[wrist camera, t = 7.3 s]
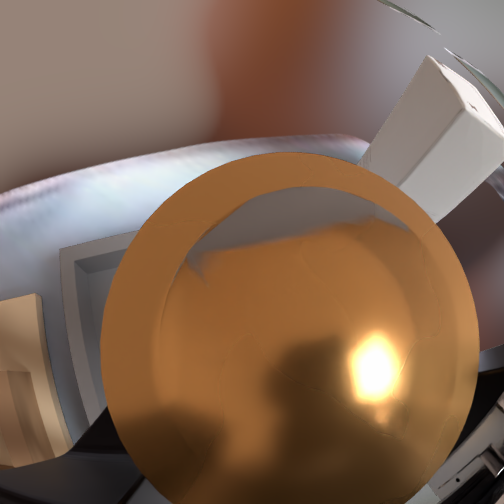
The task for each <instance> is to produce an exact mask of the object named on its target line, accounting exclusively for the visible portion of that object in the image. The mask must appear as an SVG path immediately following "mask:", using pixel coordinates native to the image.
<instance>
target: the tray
mask: <svg viewBox="0 0 504 504" xmlns="http://www.w3.org/2000/svg"><path fill="white" fill-rule="evenodd" d="M138 232H139V230H138V231H133V232H129V233H124V234H120V235H115V236H111V237H107V238H102V239H98V240H94V241H90V242H86V243H82V244H78V245H74V246H70V247H66V248H62V249H60V273H61V287H62V298H63V307H64V315H65V322H66V329H67V336H68V341H69V347H70V352H71V357H72V362H73V367H74V371H75V375H76V380H77V384H78V388H79V391H80V395H81V399H82V402H83V406H84V409H85V412H86V415H87V419H88V422H89V425H90V426H91V425H92V423H93V422H94V421H95V420H96V419H97V417H98V416H99V415H100V414H101V412H102V411H103V410H104V409H105V407H106V406H107V401H106V397H105V392H104V387H103V381H102V376H101V358H100V337H101V329H102V322H103V315H104V308H105V304H106V301H107V297H108V294H109V290H110V287H111V284H112V281H113V278H114V275H115V273H116V271H117V268H118V266H119V264H120V262H121V260H122V258H123V256H124V254H125V252H126V250H127V248H128V246H129V245H130V243H131V242H132V240H133V239H134V237H135V236H136V235H137V233H138Z"/></svg>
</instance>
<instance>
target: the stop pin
mask: <svg viewBox="0 0 504 504" xmlns="http://www.w3.org/2000/svg"><path fill="white" fill-rule="evenodd" d="M100 358H101V376H102V381H103V387H104V392H105V397H106V401H107V406H108V409H109V412H110V415H111V417H112V420H113V423H114V425H115V428H116V430H117V433H118V435H119V438H120V440H121V442H122V443H123V445H124V447H125V449H126V450H127V452H128V454H129V455H130V457H131V458H132V460H133V462H134V463H135V465H136V466H137V468H138V469H139V470H140V472H141V473H142V474H143V475H144V476H145V477H146V479H147V480H148V481H149V482H150V483H151V484H152V485H153V487H154V488H155V489H156V490H157V491H158V492H159V493H160V494H161V495H162V496H164V497H165V498H166V499H167V500H168V501H170V502H171V503H172V504H404V503H406V502H407V501H408V500H410V499H411V498H412V497H413V496H414V495H415V494H416V493H417V492H418V491H419V490H420V489H421V488H422V487H423V486H424V485H425V484H426V483H427V482H428V481H429V480H430V479H431V478H432V477H433V475H434V474H435V473H436V472H437V470H438V469H439V468H440V467H441V465H442V464H443V463H444V461H445V460H446V458H447V457H448V455H449V453H450V452H451V450H452V449H453V447H454V445H455V443H456V441H457V439H458V437H459V435H460V433H461V431H462V429H463V427H464V425H465V422H466V419H467V416H468V414H469V411H470V408H471V405H472V401H473V397H474V393H475V388H476V383H477V376H478V368H479V330H478V321H477V315H476V310H475V305H474V300H473V297H472V293H471V290H470V287H469V284H468V281H467V278H466V276H465V273H464V271H463V268H462V266H461V264H460V262H459V260H458V258H457V256H456V254H455V252H454V250H453V249H452V247H451V245H450V244H449V242H448V241H447V239H446V238H445V236H444V235H443V233H442V232H441V230H440V229H439V228H438V227H437V225H436V224H435V223H434V221H433V220H432V219H431V218H430V217H429V215H428V214H427V213H426V212H425V211H424V210H423V209H422V208H421V207H420V206H419V205H418V204H417V203H416V202H415V201H414V200H413V199H411V198H410V197H409V196H408V195H406V194H405V193H404V192H403V191H401V190H400V189H399V188H398V187H396V186H395V185H393V184H392V183H390V182H388V181H387V180H385V179H384V178H382V177H380V176H379V175H377V174H375V173H373V172H371V171H369V170H367V169H365V168H363V167H360V166H358V165H355V164H352V163H349V162H347V161H344V160H341V159H337V158H333V157H328V156H324V155H319V154H310V153H302V152H276V153H268V154H261V155H254V156H250V157H246V158H242V159H239V160H235V161H231V162H229V163H226V164H224V165H222V166H219V167H217V168H214V169H212V170H210V171H208V172H206V173H204V174H202V175H201V176H199V177H197V178H196V179H194V180H192V181H191V182H189V183H187V184H186V185H184V186H183V187H182V188H181V189H179V190H178V191H177V192H176V193H174V194H173V195H172V196H171V197H169V198H168V199H167V200H166V201H164V203H163V204H162V205H161V206H160V207H159V208H158V209H157V210H156V211H155V212H154V213H153V214H152V215H151V216H150V217H149V219H148V220H147V221H146V222H145V223H144V224H143V226H142V227H141V229H140V230H139V232H138V233H137V235H136V236H135V237H134V239H133V240H132V242H131V243H130V245H129V246H128V248H127V250H126V252H125V254H124V256H123V258H122V260H121V262H120V264H119V266H118V268H117V271H116V273H115V275H114V278H113V281H112V284H111V287H110V290H109V294H108V297H107V301H106V304H105V308H104V315H103V322H102V329H101V337H100Z"/></svg>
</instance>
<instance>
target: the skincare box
mask: <svg viewBox="0 0 504 504" xmlns="http://www.w3.org/2000/svg"><path fill="white" fill-rule="evenodd" d="M503 161H504V128H503V126H502V125H501V123H500V122H499V120H498V119H497V117H496V116H495V115H494V113H493V111H492V110H491V108H490V107H489V106H488V104H487V103H486V101H485V100H484V99H483V97H482V96H481V95H480V93H479V92H478V90H477V89H476V88H475V87H474V86H473V85H471V84H470V83H469V82H468V81H466V80H465V79H464V78H462V77H461V76H459V75H458V74H457V73H455V72H454V71H452V70H451V69H449V68H448V67H446V66H445V65H443V64H442V63H440V62H439V61H437V60H435V59H434V58H432V57H431V56H428V55H427V56H426V57H425V59H424V60H423V63H422V64H421V65H420V67H419V69H418V70H417V72H416V74H415V75H414V77H413V79H412V80H411V82H410V83H409V85H408V87H407V88H406V90H405V92H404V93H403V95H402V96H401V98H400V100H399V101H398V103H397V104H396V106H395V108H394V109H393V111H392V112H391V114H390V115H389V117H388V118H387V120H386V122H385V123H384V125H383V126H382V128H381V129H380V131H379V132H378V134H377V135H376V137H375V138H374V140H373V141H372V143H371V144H370V146H369V147H368V149H367V150H366V152H365V153H364V155H363V156H362V158H361V159H360V161H359V162H358V164H357V165H358V166H360V167H363V168H365V169H367V170H369V171H371V172H373V173H375V174H377V175H379V176H380V177H382V178H384V179H385V180H387V181H388V182H390V183H392V184H393V185H395V186H396V187H398V188H399V189H400V190H401V191H403V192H404V193H405V194H406V195H408V196H409V197H410V198H411V199H413V200H414V201H415V202H416V203H417V204H418V205H419V206H420V207H421V208H422V209H423V210H424V211H425V212H426V213H427V214H428V215H429V217H430V218H431V219H432V220H433V221H434V223H435V224H436V223H437V222H438V221H439V220H440V219H441V218H443V217H444V216H445V215H446V214H448V213H449V212H450V211H451V210H452V209H453V208H454V207H456V206H457V205H458V204H459V203H460V202H461V201H462V200H463V199H465V198H466V197H467V196H468V195H469V194H470V193H471V192H472V191H473V190H474V189H475V188H477V187H478V185H480V184H481V183H482V182H483V181H484V180H485V179H486V178H487V177H488V176H489V175H490V174H491V173H492V172H493V171H494V170H495V169H496V168H497V167H498V166H499V165H500V164H501V163H502V162H503Z"/></svg>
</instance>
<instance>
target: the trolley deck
mask: <svg viewBox="0 0 504 504" xmlns="http://www.w3.org/2000/svg"><path fill="white" fill-rule="evenodd" d="M73 446H74V445H73V442H72V440H71V437H70V434H69V431H68V428H67V425H66V422H65V419H64V416H63V412H62V409H61V406H60V402H59V398H58V395H57V391H56V387H55V382H54V378H53V374H52V369H51V364H50V359H49V353H48V348H47V341H46V335H45V327H44V319H43V310H42V298H41V296H39V295H38V294H36V293H33V294H29V295H25V296H20V297H16V298H12V299H7V300H3V301H0V470H5V469H11V468H15V467H20V466H25V465H29V464H33V463H37V462H41V461H45V460H48V459H52V458H56V457H59V456H61V455H63V454H64V453H66V452H67V451H69V450H70V449H71V448H72V447H73Z"/></svg>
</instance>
